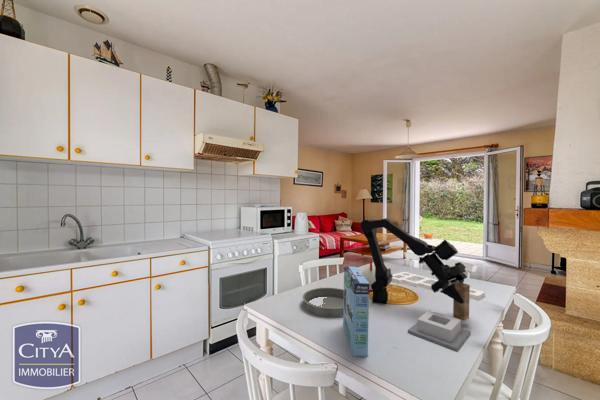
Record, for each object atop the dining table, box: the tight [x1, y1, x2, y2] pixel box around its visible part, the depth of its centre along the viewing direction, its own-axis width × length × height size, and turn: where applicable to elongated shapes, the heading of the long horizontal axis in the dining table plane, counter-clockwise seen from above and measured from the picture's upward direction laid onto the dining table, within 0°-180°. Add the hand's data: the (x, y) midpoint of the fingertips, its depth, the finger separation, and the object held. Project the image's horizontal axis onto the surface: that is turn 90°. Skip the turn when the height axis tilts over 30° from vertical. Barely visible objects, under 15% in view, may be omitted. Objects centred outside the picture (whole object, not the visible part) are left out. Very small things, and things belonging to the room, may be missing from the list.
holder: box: [391, 271, 486, 301], centre depth 144 cm, size 45×18×3 cm, turn 36°
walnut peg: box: [452, 282, 471, 322], centre depth 102 cm, size 4×4×13 cm
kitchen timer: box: [361, 259, 376, 292], centre depth 142 cm, size 14×14×15 cm
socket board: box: [407, 310, 472, 352], centre depth 95 cm, size 16×16×5 cm
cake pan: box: [302, 287, 344, 317], centre depth 119 cm, size 25×25×4 cm
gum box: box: [342, 266, 370, 358], centre depth 90 cm, size 20×5×23 cm, turn 0°
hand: (465, 301), depth 101 cm, fingers closed on walnut peg, 4 cm apart
